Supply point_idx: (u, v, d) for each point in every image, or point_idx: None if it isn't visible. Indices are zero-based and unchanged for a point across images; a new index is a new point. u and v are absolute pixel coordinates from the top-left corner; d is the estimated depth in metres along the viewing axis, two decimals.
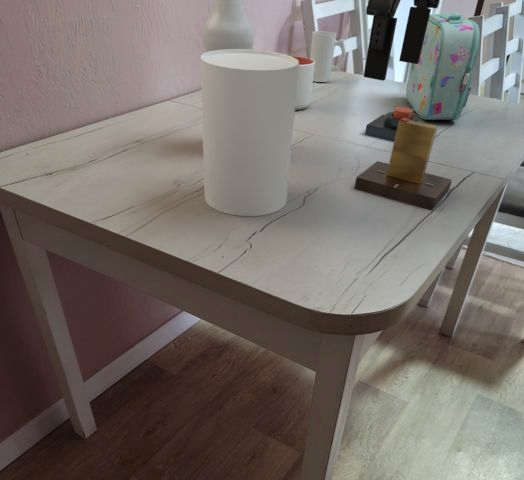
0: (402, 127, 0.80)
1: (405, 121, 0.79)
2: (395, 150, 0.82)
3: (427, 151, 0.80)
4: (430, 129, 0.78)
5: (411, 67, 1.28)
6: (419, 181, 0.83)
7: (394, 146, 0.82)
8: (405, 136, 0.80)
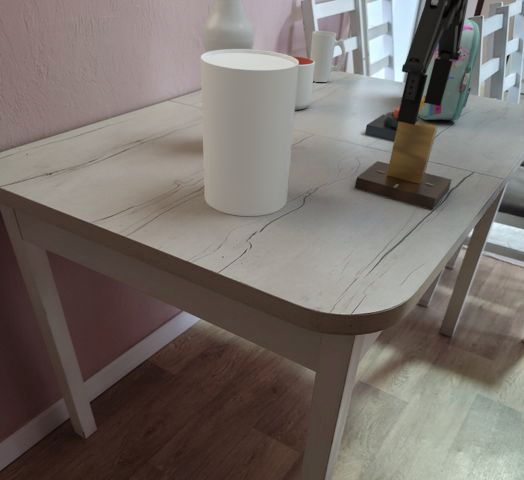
0: (402, 127, 0.80)
1: None
2: (395, 150, 0.82)
3: (427, 151, 0.80)
4: (430, 129, 0.78)
5: None
6: (419, 181, 0.83)
7: (394, 146, 0.82)
8: (405, 136, 0.80)
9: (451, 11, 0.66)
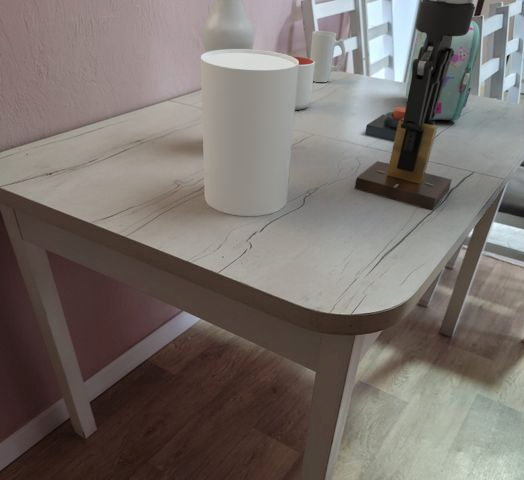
0: None
1: None
2: (395, 150, 0.82)
3: (427, 151, 0.80)
4: (430, 129, 0.78)
5: (411, 67, 1.28)
6: (419, 181, 0.83)
7: (394, 146, 0.82)
8: None
9: (438, 70, 0.72)
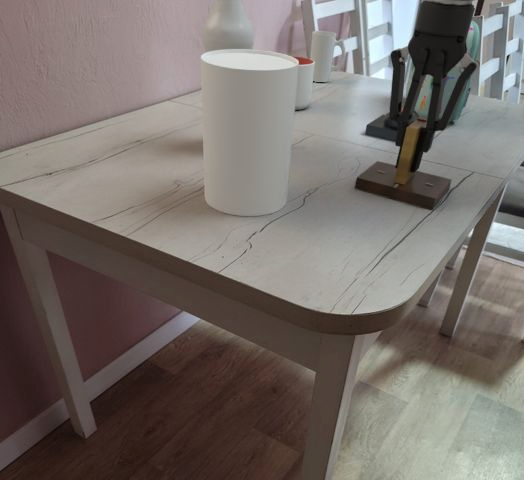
0: None
1: (417, 119, 0.80)
2: None
3: None
4: None
5: (411, 67, 1.28)
6: (395, 179, 0.83)
7: None
8: None
9: (416, 66, 0.73)
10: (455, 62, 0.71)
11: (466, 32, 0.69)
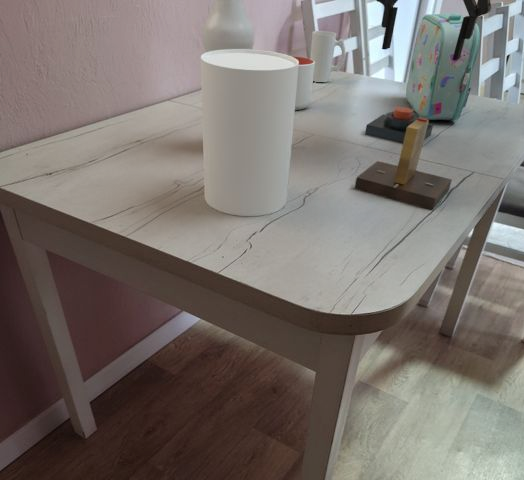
0: None
1: (417, 119, 0.80)
2: None
3: None
4: None
5: (411, 67, 1.28)
6: (395, 179, 0.83)
7: None
8: None
9: None
10: None
11: None
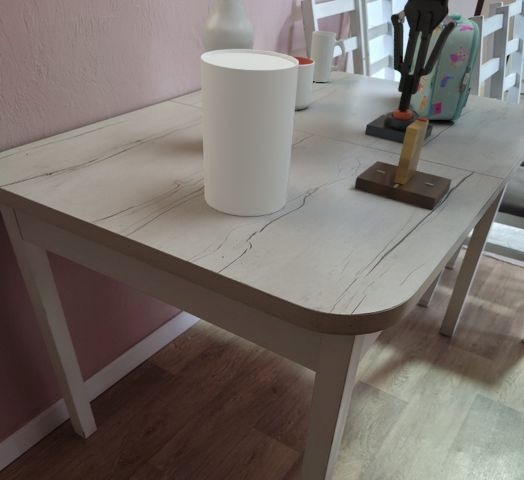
0: None
1: (417, 119, 0.80)
2: None
3: None
4: None
5: (411, 67, 1.28)
6: (395, 179, 0.83)
7: None
8: None
9: (410, 25, 0.95)
10: (439, 20, 0.93)
11: None
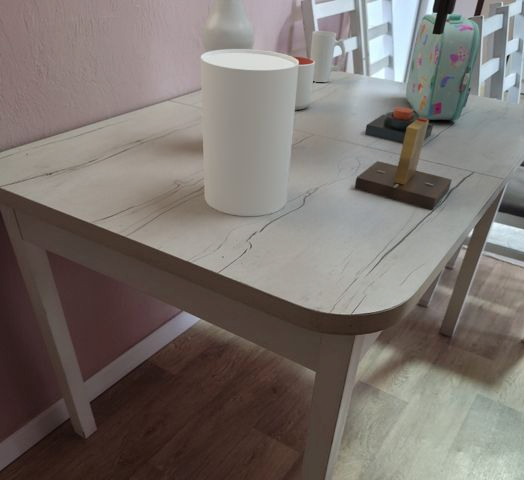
0: None
1: (417, 119, 0.80)
2: None
3: None
4: None
5: (411, 67, 1.28)
6: (395, 179, 0.83)
7: None
8: None
9: None
10: None
11: None
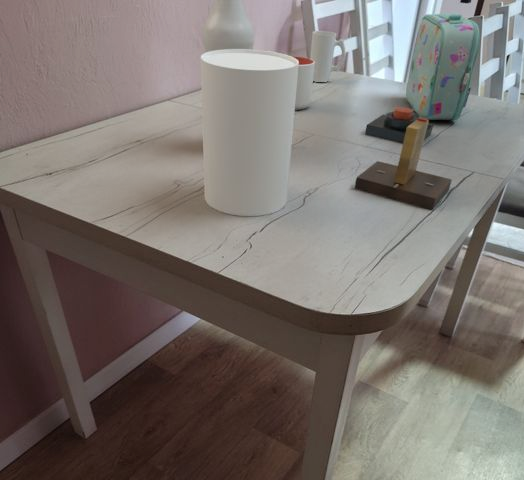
0: None
1: (417, 119, 0.80)
2: None
3: None
4: None
5: (411, 67, 1.28)
6: (395, 179, 0.83)
7: None
8: None
9: None
10: None
11: None
